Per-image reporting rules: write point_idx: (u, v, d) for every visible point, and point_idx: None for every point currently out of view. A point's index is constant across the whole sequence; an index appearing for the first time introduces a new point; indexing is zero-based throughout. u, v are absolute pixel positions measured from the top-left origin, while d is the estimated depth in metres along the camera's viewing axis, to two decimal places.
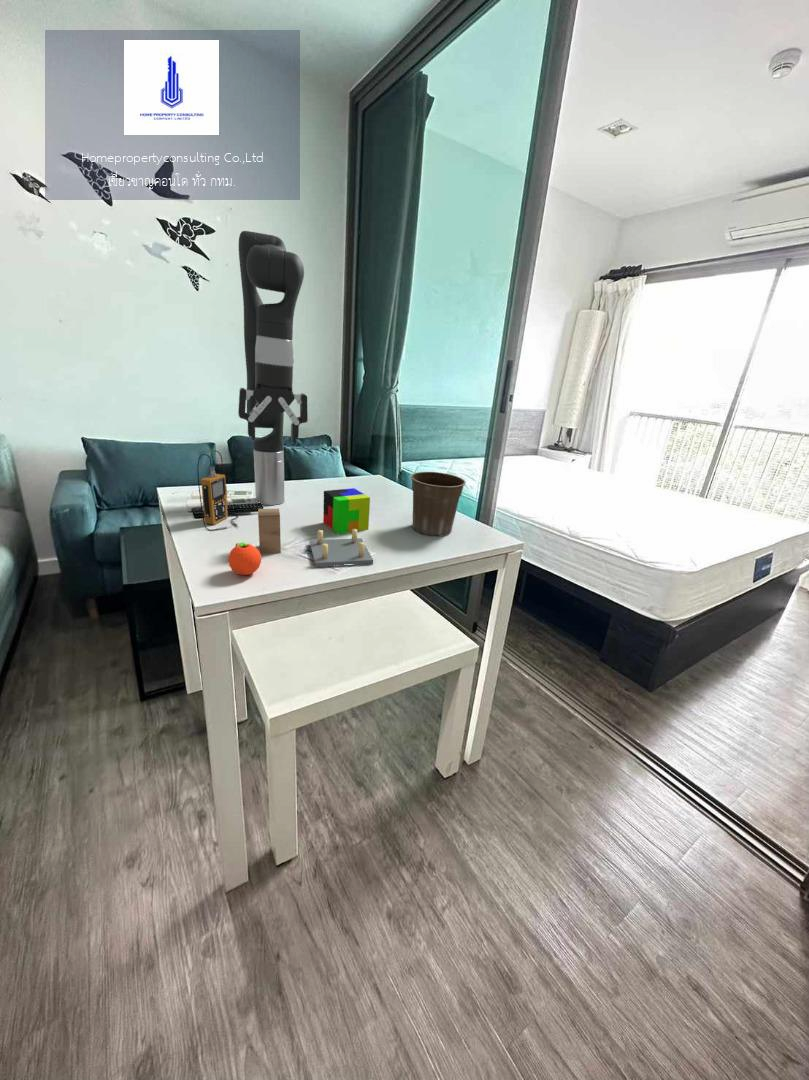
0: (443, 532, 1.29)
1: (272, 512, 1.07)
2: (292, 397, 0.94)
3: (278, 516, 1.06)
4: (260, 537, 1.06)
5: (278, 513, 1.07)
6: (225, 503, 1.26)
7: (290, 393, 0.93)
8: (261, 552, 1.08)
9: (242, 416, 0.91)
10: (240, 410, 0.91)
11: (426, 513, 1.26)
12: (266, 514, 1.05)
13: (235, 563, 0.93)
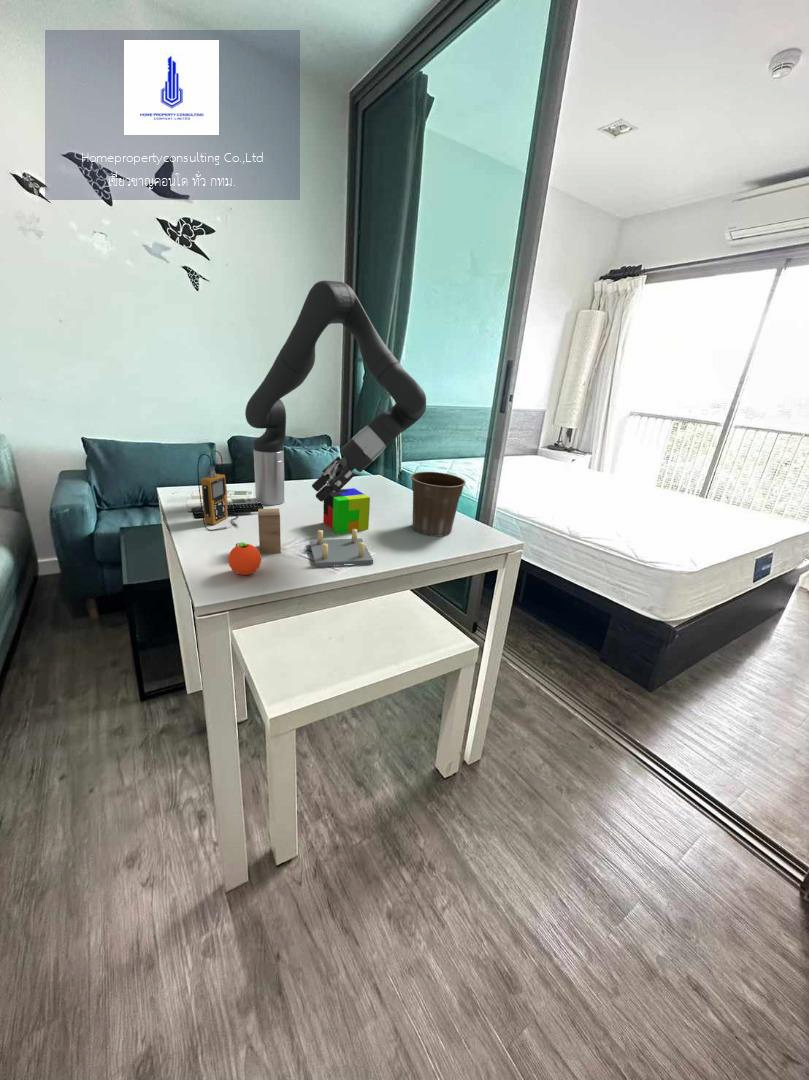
0: (443, 532, 1.29)
1: (272, 512, 1.07)
2: None
3: (278, 516, 1.06)
4: (260, 537, 1.06)
5: (278, 513, 1.07)
6: (225, 503, 1.26)
7: None
8: (261, 552, 1.08)
9: None
10: None
11: (426, 513, 1.26)
12: (266, 514, 1.05)
13: (235, 563, 0.93)
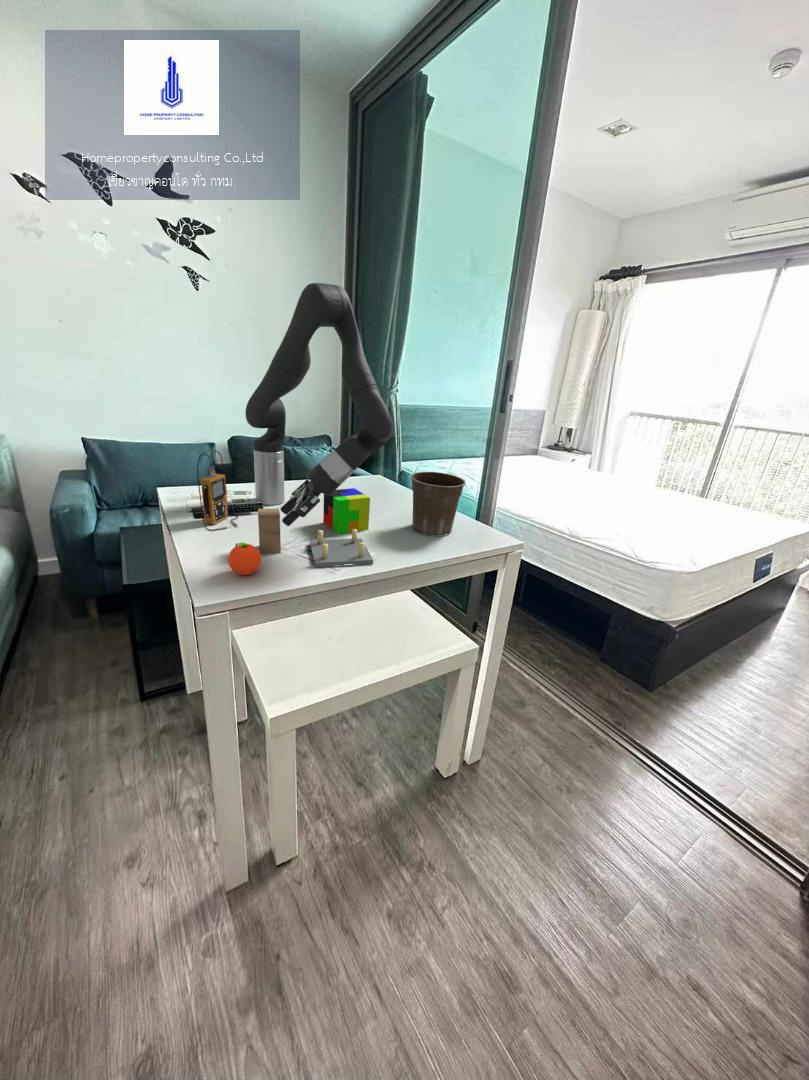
0: (443, 532, 1.29)
1: (272, 512, 1.07)
2: None
3: (278, 516, 1.06)
4: (260, 537, 1.06)
5: (278, 513, 1.07)
6: (225, 503, 1.26)
7: None
8: (261, 552, 1.08)
9: None
10: None
11: (426, 513, 1.26)
12: (266, 514, 1.05)
13: (235, 563, 0.93)
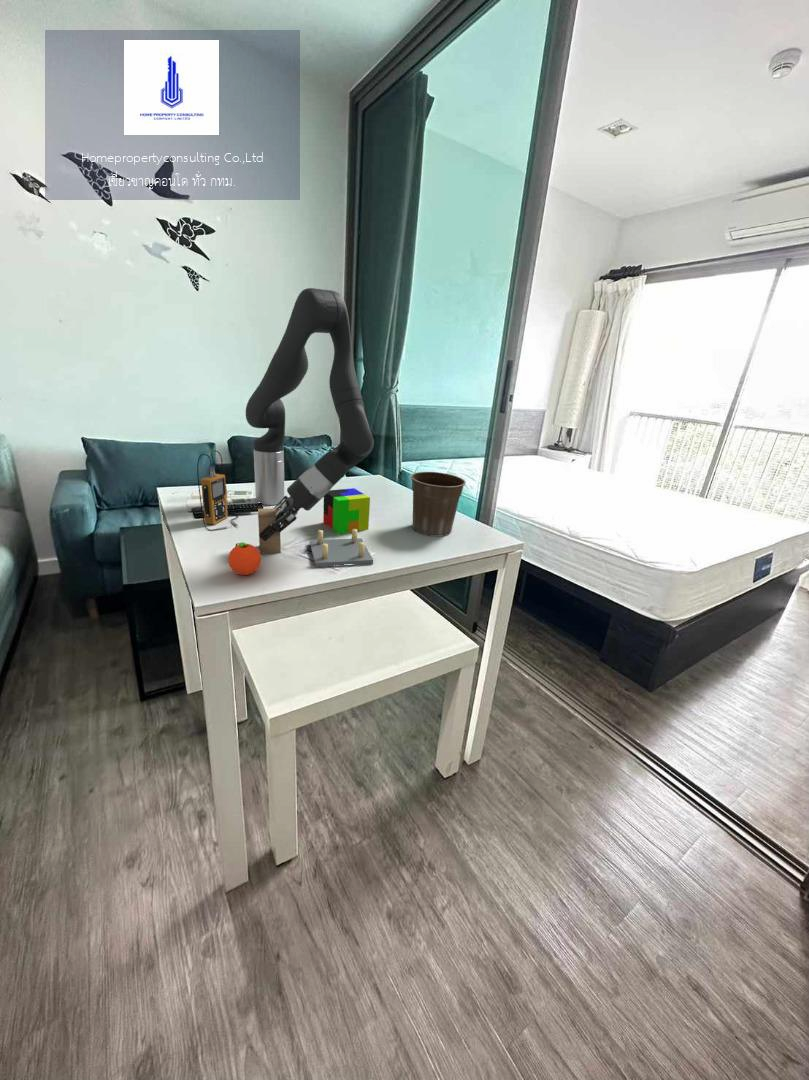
0: (443, 532, 1.29)
1: (272, 512, 1.07)
2: None
3: None
4: None
5: None
6: (225, 503, 1.26)
7: None
8: (260, 552, 1.08)
9: None
10: None
11: (426, 513, 1.26)
12: (266, 514, 1.05)
13: (235, 563, 0.93)
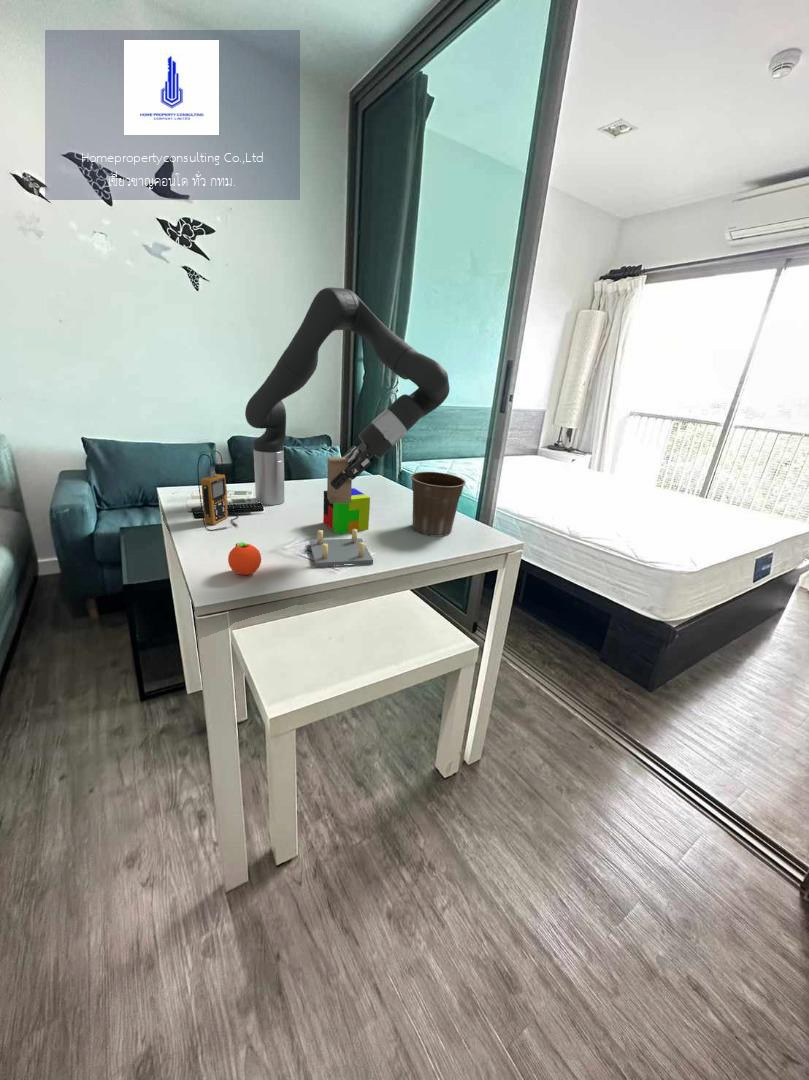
0: (443, 532, 1.29)
1: (343, 459, 1.02)
2: None
3: None
4: (331, 485, 1.02)
5: None
6: (225, 503, 1.26)
7: None
8: (331, 502, 1.03)
9: None
10: None
11: (426, 513, 1.26)
12: (338, 460, 1.00)
13: (235, 563, 0.93)
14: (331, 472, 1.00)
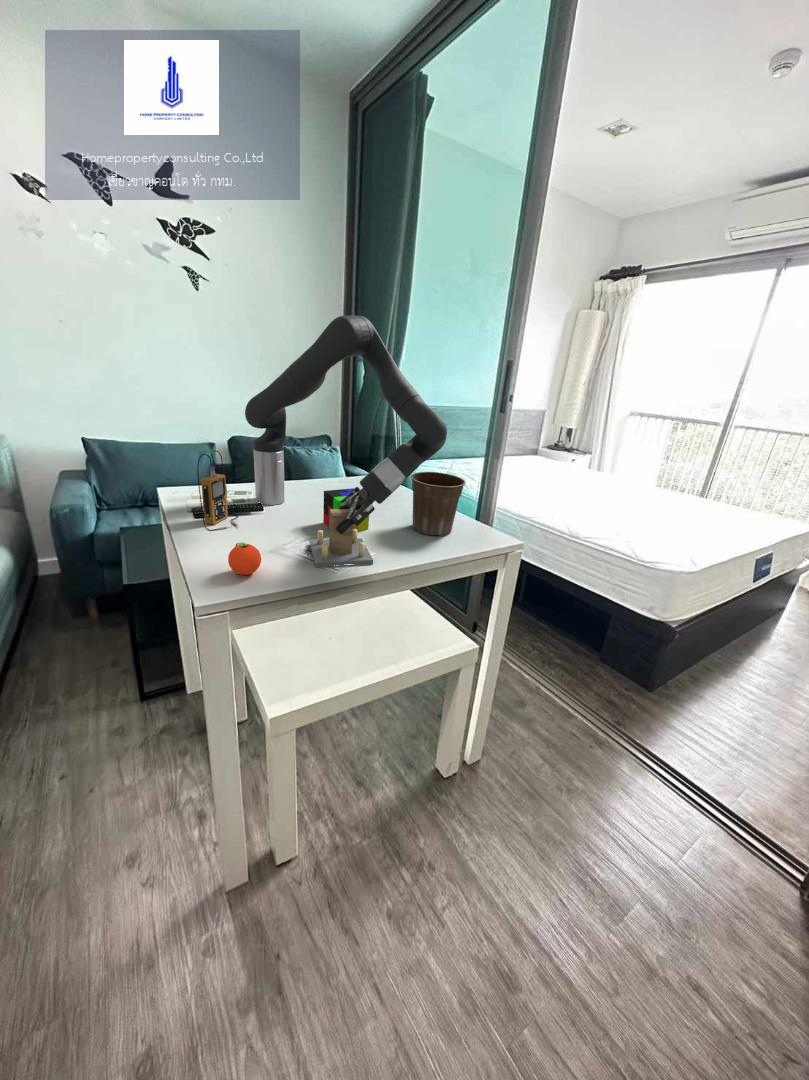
0: (443, 532, 1.29)
1: (345, 512, 1.07)
2: None
3: None
4: (333, 537, 1.07)
5: None
6: (225, 503, 1.26)
7: None
8: (332, 552, 1.08)
9: None
10: None
11: (426, 513, 1.26)
12: (340, 515, 1.06)
13: (235, 563, 0.93)
14: (333, 526, 1.06)
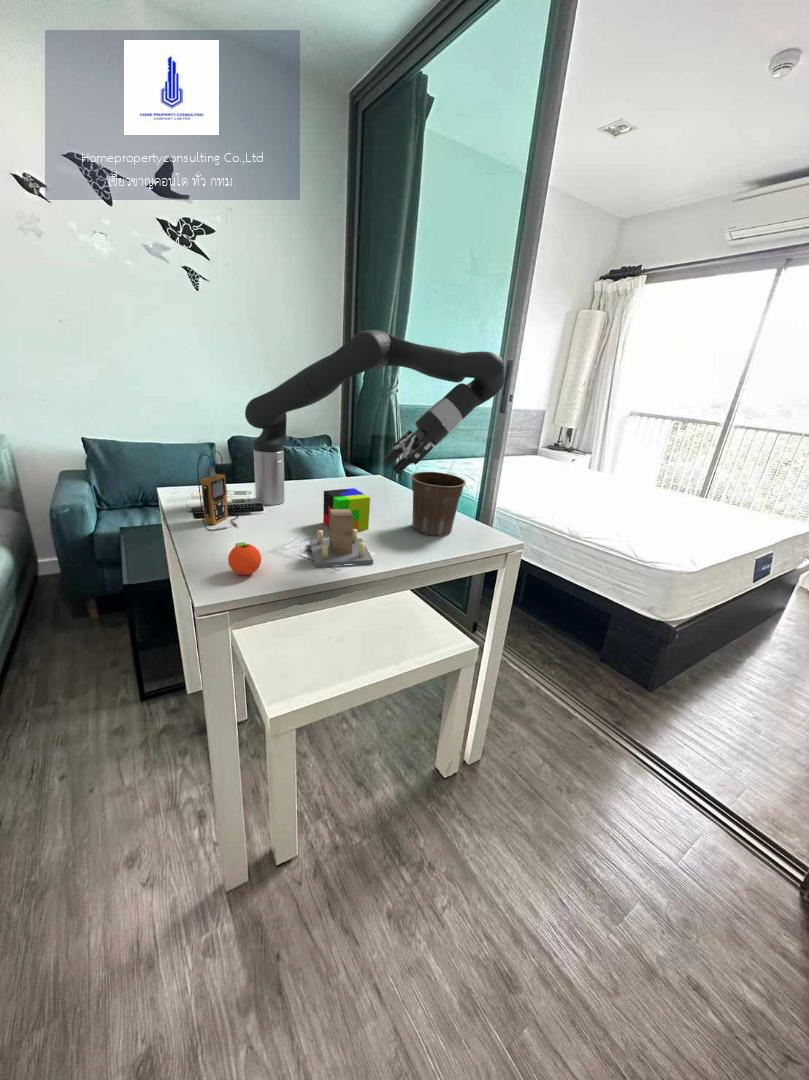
0: (443, 532, 1.29)
1: (345, 512, 1.07)
2: None
3: (351, 517, 1.06)
4: (333, 537, 1.07)
5: (351, 514, 1.07)
6: (225, 503, 1.26)
7: None
8: (332, 552, 1.08)
9: None
10: None
11: (426, 513, 1.26)
12: (340, 515, 1.06)
13: (235, 563, 0.93)
14: (333, 526, 1.06)
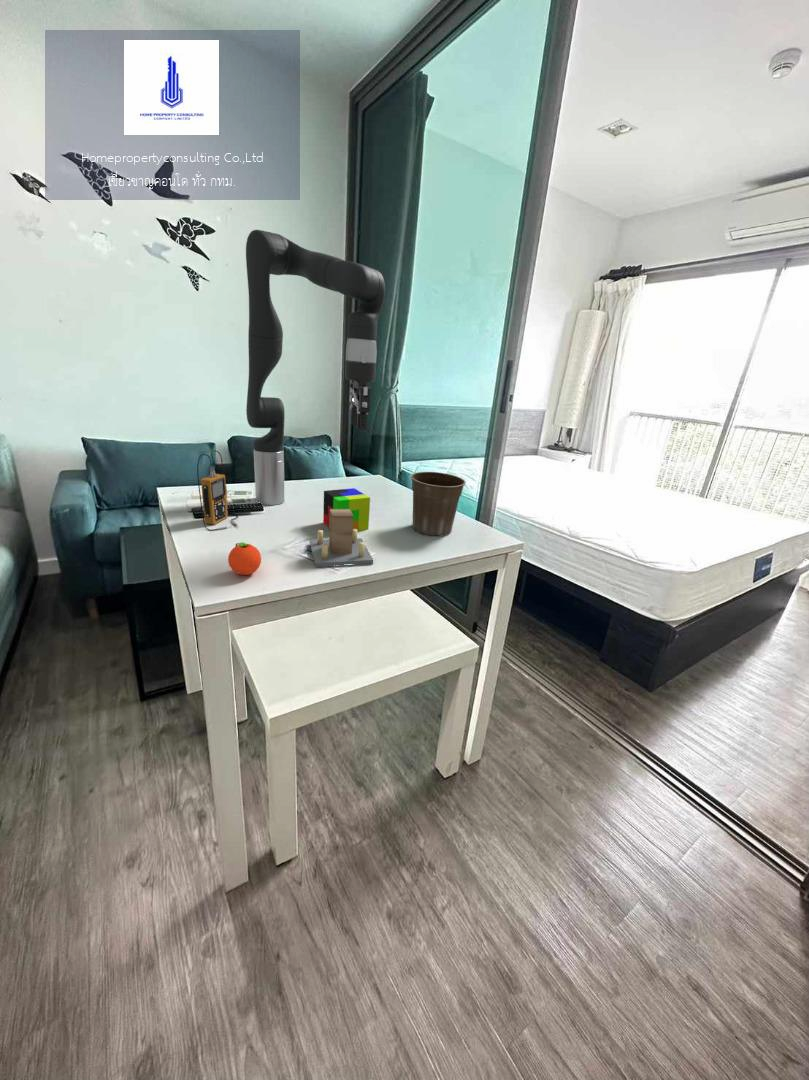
0: (443, 532, 1.29)
1: (345, 512, 1.07)
2: None
3: (351, 517, 1.06)
4: (333, 537, 1.07)
5: (351, 514, 1.07)
6: (225, 503, 1.26)
7: None
8: (332, 552, 1.08)
9: None
10: None
11: (426, 513, 1.26)
12: (340, 515, 1.06)
13: (235, 563, 0.93)
14: (333, 526, 1.06)
